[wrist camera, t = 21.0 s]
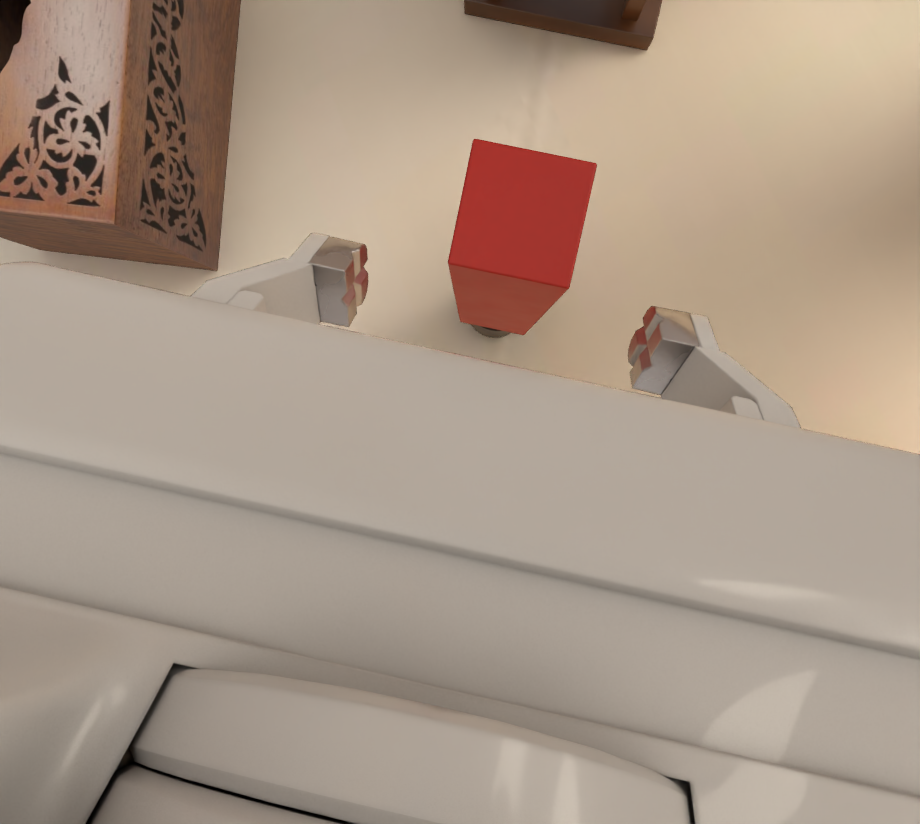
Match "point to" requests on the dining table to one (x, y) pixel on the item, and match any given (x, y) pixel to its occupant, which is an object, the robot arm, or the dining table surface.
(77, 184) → the tissue box cover
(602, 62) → the dining table surface
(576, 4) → the wooden lectern stand
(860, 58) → the dining table surface
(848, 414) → the dining table surface
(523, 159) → the tall red pillar
